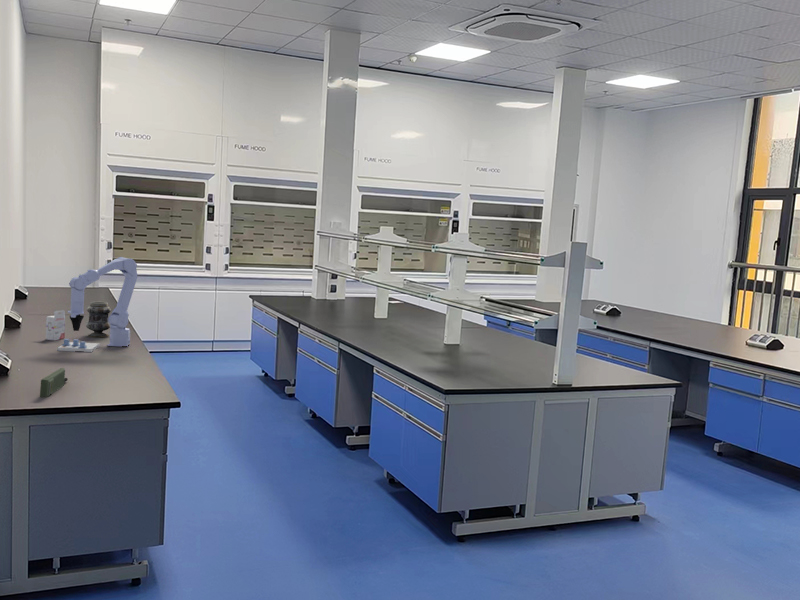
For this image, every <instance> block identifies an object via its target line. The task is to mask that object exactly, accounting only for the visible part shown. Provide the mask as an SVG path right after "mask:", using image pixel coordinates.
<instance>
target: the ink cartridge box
mask: <svg viewBox="0 0 800 600" xmlns="http://www.w3.org/2000/svg"><path fill="white" fill-rule="evenodd" d="M53 314H54V315H48V316H46V317H45V340H49V341H56V340H62V339H63V340H64V339H66V336H65V335H66V334H65V333H66V311H65V309H62V310H61V309H60V310H56V311H54V312H53Z"/></svg>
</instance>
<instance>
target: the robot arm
mask: <svg viewBox="0 0 800 600" xmlns="http://www.w3.org/2000/svg"><path fill="white" fill-rule="evenodd" d="M137 267H138V264H137V262H136V260H134V259H133V258H127V257H124V256H119V257H118V258H115V259H113V260H111V261H109V262H108V263H107V264H105V265H103V266H101V267H99V268H97V269H91V268H89V269H87V271H86V272H84V273H82V274H79V275H78V276H74V277H72V278H70V279H71V280H70V281H69V283H68V284H69V287H70V289H71V291H70V293H71V294H70V310H68V311H67V314H70V315H69V319H70V321H71V325H72V329H73V332H77V331H80V328H81V324H82V322H83V319H84V317H85V316H84V314H85V312H84V308H85V302H84V301H85V289H86V288H87V287H88V286H89V285H91V284H93V283H95V282H97V281H99V280H100V277H102V276H103V275H105V274H107V273H110V272H112V271H114V270H119V271H120V272H121V273H122V274H123V276H124V281H123V284H122V287H121V291H120V294H119V295H118V296H119V297H118V300H117V304H116V307H115V308H114V309H112V310H111V311H112V312H110V313H111V314H110V315H108V322H109V324H110V328H109V343H107V345H106V346H108V347H122V346H127V347H129V346H130V345H131V329H130V328H127V326H128V324H129V316H130V314H129V311H128V308H129V306H130V303H131V299H132V296H133V294H134V291H135V290H134V289H135V287H136V283H137V279H138V270H137ZM129 344H130V345H129ZM128 345H129V346H128Z"/></svg>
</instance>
